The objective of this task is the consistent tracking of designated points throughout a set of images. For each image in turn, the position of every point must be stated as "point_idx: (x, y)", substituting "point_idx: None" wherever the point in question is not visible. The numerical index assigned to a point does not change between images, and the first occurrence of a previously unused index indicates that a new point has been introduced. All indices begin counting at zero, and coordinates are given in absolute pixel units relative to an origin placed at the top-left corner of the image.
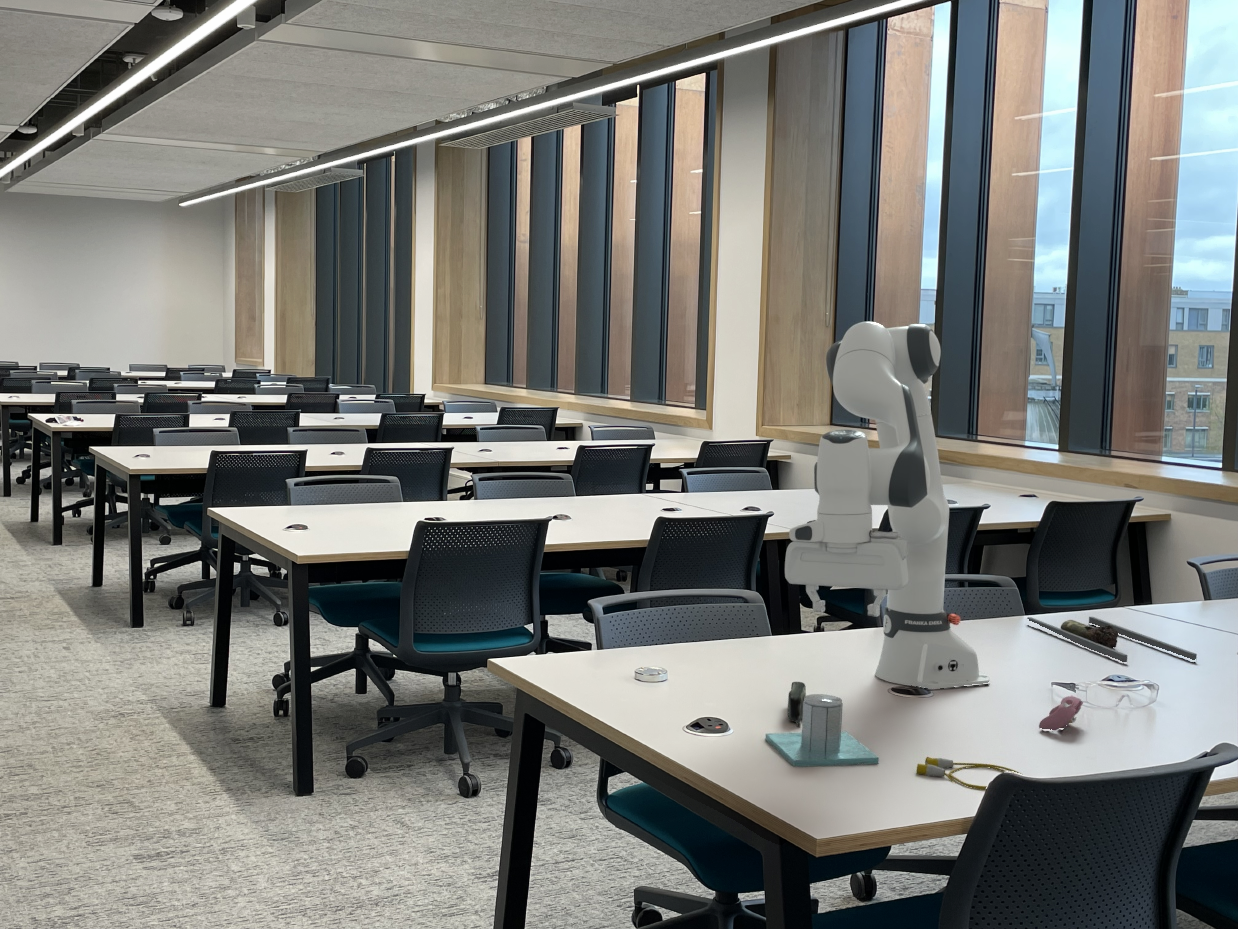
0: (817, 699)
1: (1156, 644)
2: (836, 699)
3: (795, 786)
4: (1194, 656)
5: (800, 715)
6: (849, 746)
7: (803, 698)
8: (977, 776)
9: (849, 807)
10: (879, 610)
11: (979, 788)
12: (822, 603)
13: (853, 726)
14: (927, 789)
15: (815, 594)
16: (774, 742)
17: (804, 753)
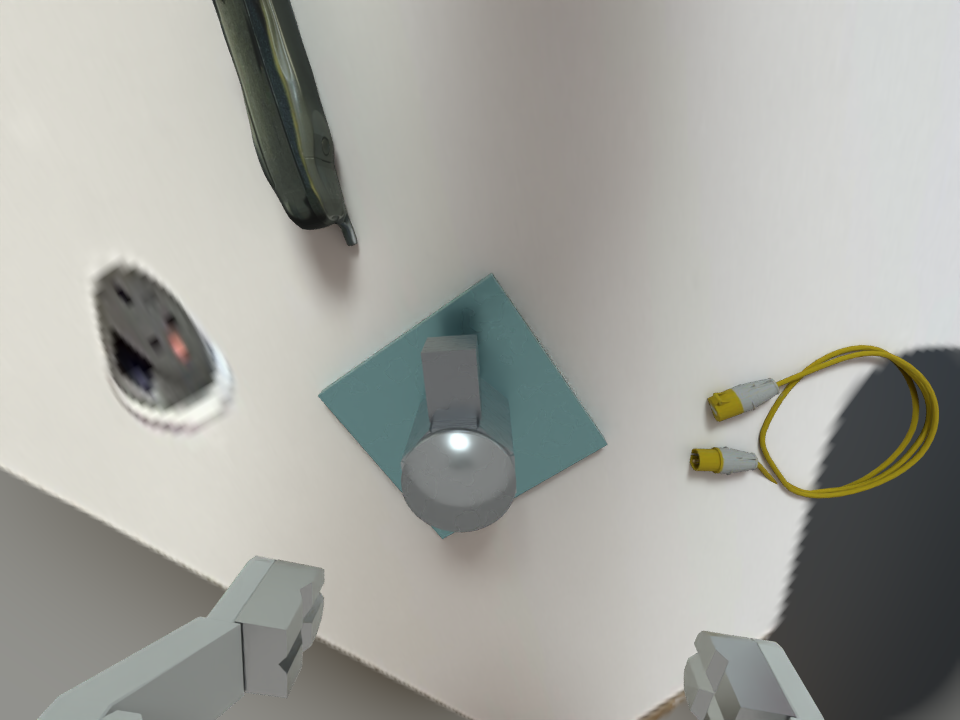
0: (444, 497)
1: None
2: (496, 471)
3: (478, 616)
4: None
5: (339, 211)
6: (529, 398)
7: (315, 156)
8: (823, 418)
9: (585, 662)
10: (791, 675)
11: (819, 493)
12: (294, 661)
13: (490, 148)
14: (713, 535)
15: (172, 705)
16: (361, 444)
17: None
